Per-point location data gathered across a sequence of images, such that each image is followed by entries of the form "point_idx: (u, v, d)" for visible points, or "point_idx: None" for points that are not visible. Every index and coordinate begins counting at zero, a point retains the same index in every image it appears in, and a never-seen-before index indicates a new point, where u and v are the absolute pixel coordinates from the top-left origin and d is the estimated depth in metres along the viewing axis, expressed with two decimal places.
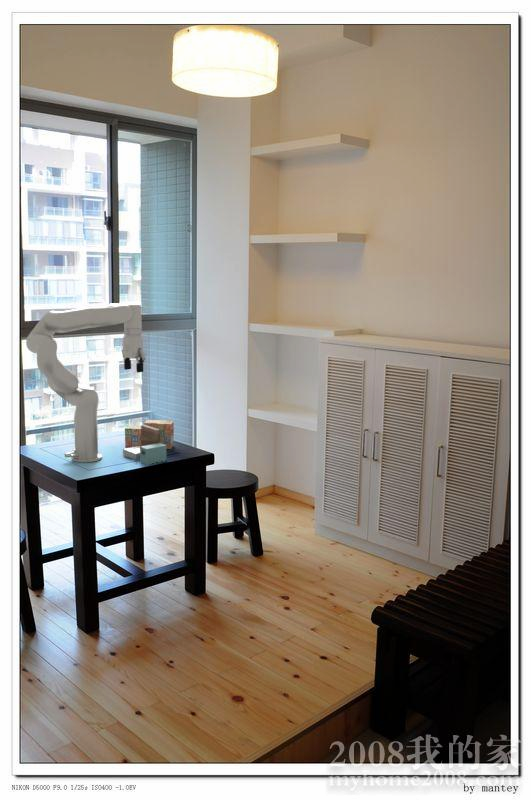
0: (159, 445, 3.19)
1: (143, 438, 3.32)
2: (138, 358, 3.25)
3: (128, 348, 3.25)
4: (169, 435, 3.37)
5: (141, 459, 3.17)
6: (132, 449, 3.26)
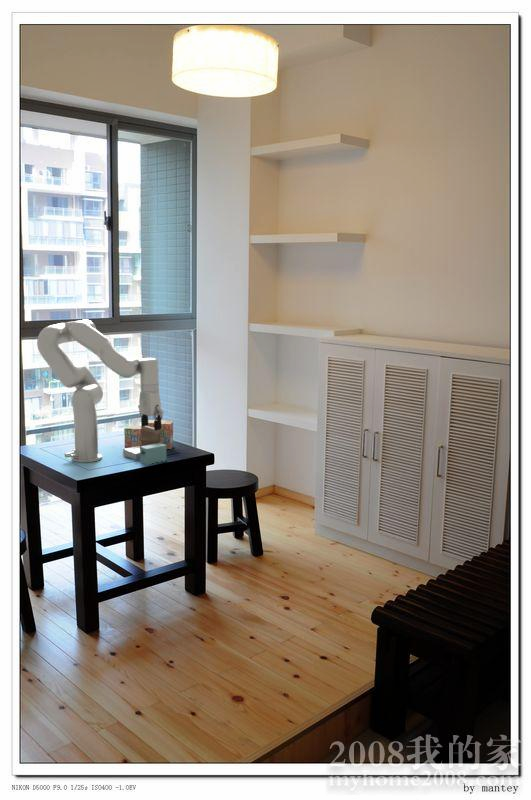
0: (159, 445, 3.19)
1: (143, 438, 3.32)
2: (156, 415, 3.11)
3: (145, 405, 3.11)
4: (169, 435, 3.37)
5: (141, 459, 3.17)
6: (132, 449, 3.26)
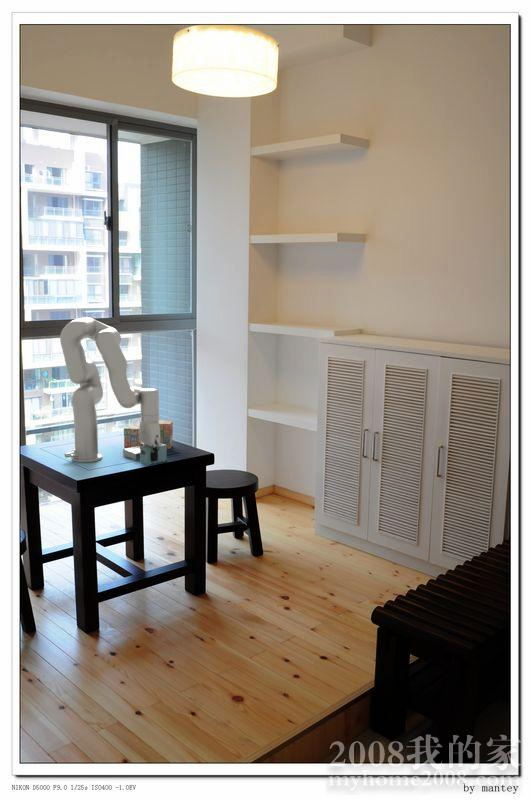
0: None
1: None
2: None
3: (145, 435, 3.14)
4: (168, 435, 3.37)
5: (141, 459, 3.17)
6: (132, 449, 3.26)
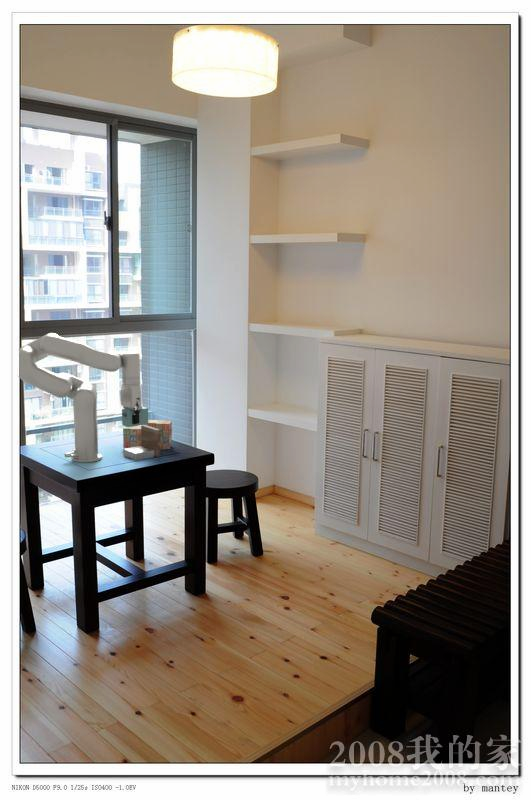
0: None
1: (143, 438, 3.32)
2: None
3: (126, 398, 3.18)
4: (168, 435, 3.38)
5: (123, 421, 3.21)
6: (132, 449, 3.26)
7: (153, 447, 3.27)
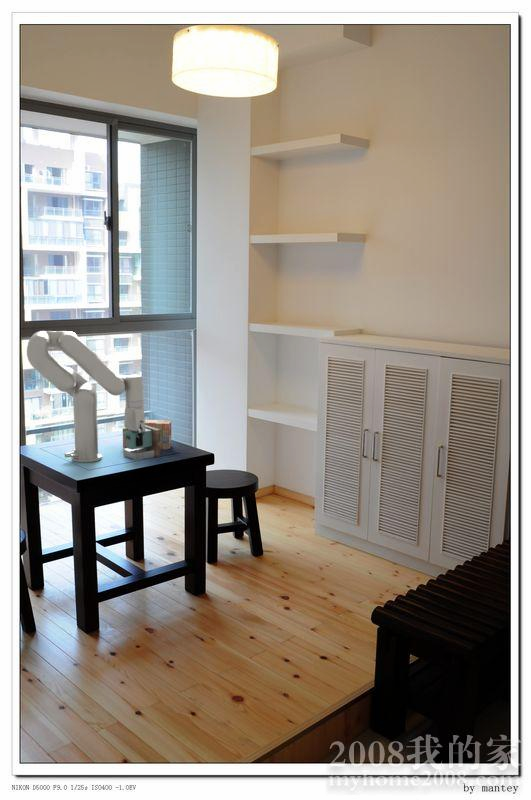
0: None
1: None
2: (138, 431, 3.22)
3: (130, 420, 3.21)
4: (167, 435, 3.38)
5: (127, 444, 3.24)
6: None
7: (153, 447, 3.27)
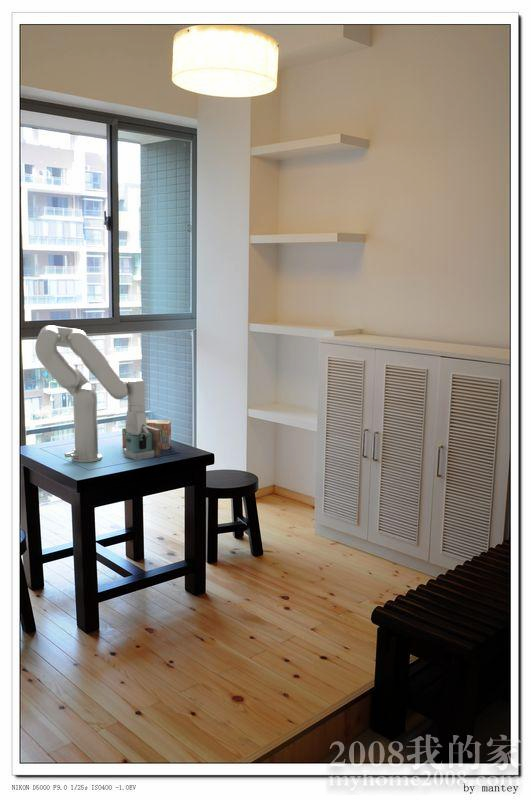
0: None
1: None
2: None
3: (131, 424, 3.22)
4: (167, 435, 3.38)
5: (127, 446, 3.24)
6: None
7: (153, 447, 3.27)
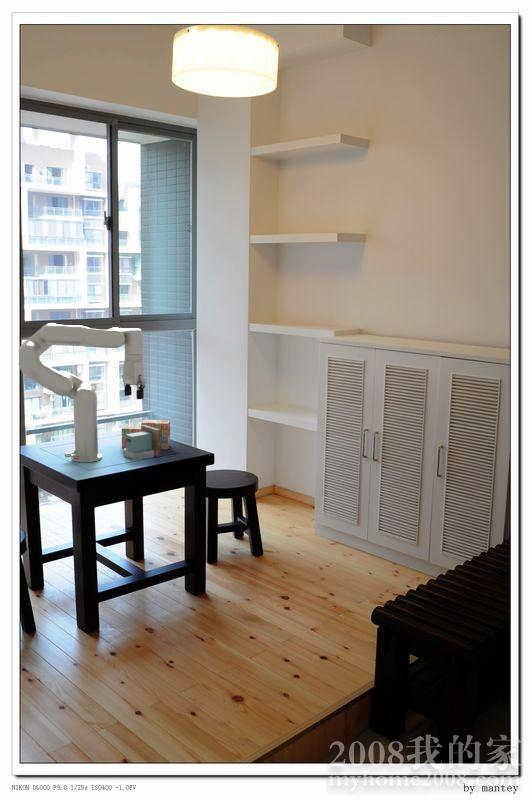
0: (144, 433, 3.26)
1: None
2: (138, 385, 3.17)
3: (128, 374, 3.17)
4: (166, 434, 3.38)
5: (127, 446, 3.24)
6: None
7: (153, 447, 3.27)
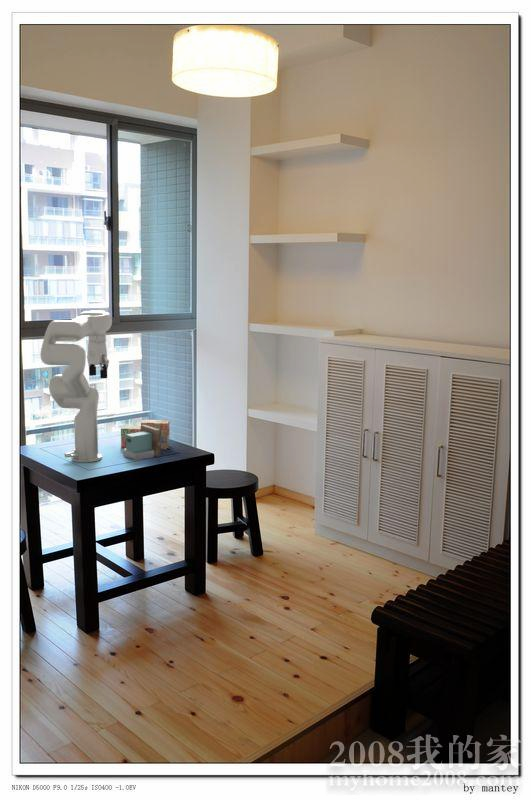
0: (144, 433, 3.26)
1: None
2: (102, 364, 3.32)
3: (92, 355, 3.32)
4: (166, 434, 3.38)
5: (127, 446, 3.24)
6: None
7: (153, 447, 3.27)
